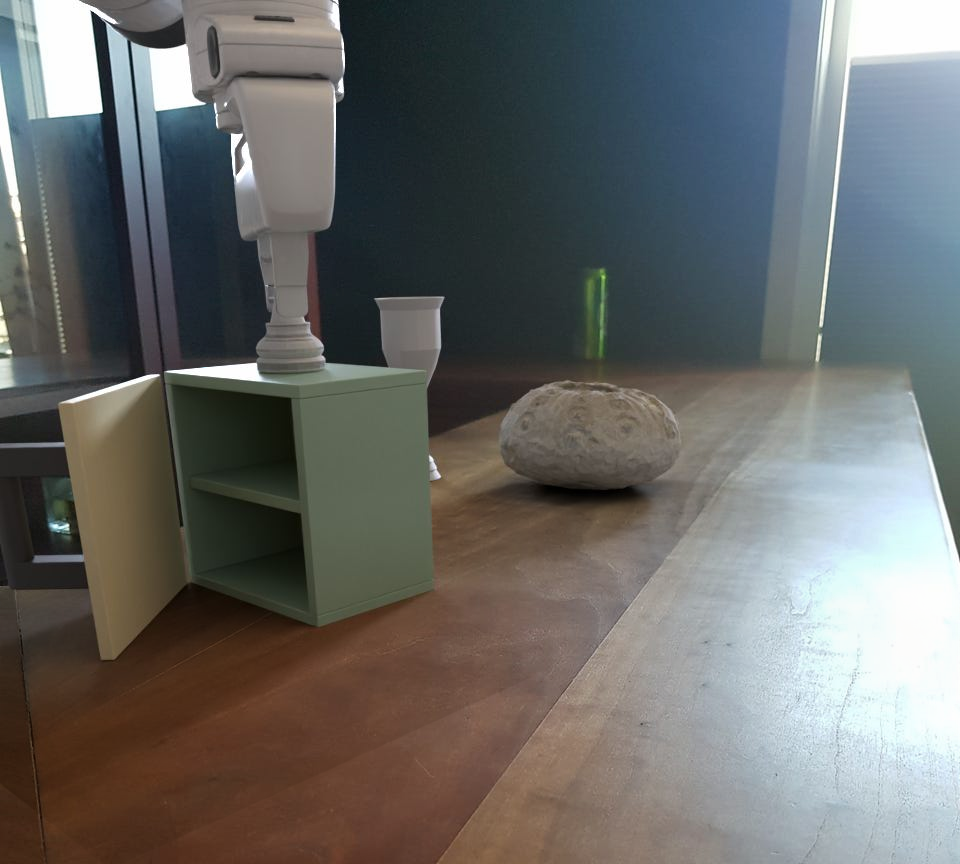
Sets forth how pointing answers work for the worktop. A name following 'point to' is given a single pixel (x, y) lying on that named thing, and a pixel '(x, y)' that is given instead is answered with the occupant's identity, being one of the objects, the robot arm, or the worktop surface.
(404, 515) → the cupboard
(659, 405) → the decorative shell
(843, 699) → the worktop surface
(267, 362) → the chess piece
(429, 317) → the chalice
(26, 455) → the door
